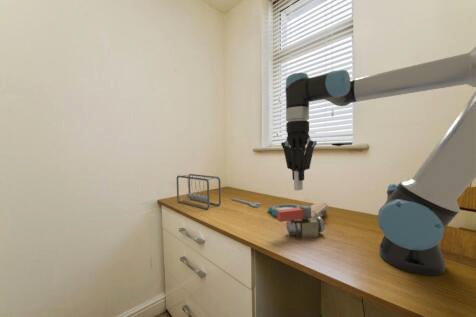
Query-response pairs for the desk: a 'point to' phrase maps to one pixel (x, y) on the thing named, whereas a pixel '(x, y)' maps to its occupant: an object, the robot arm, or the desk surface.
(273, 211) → the butterfly valve
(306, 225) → the valve body
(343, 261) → the desk surface
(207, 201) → the newton's cradle
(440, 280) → the desk surface
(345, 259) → the desk surface
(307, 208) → the lever
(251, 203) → the adjustable wrench
